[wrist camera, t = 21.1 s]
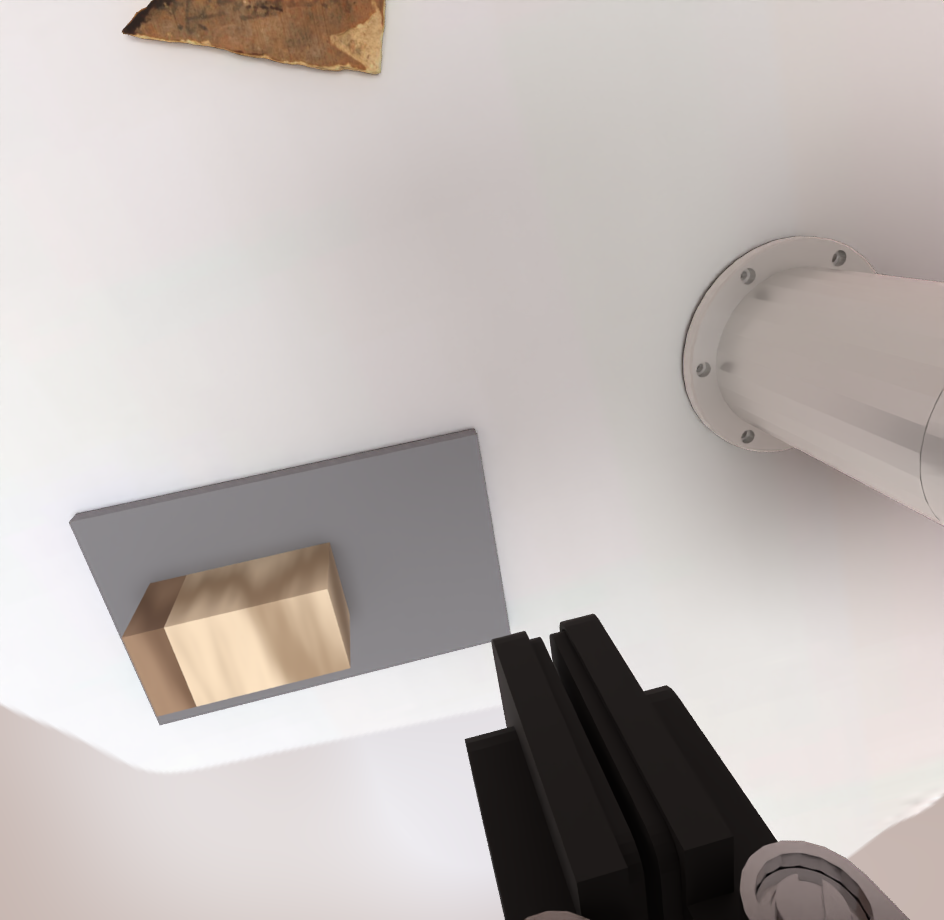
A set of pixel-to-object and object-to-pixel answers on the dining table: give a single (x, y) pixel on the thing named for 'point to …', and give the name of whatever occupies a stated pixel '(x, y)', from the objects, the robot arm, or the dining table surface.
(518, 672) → the robot arm
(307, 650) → the maple block
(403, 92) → the dining table surface
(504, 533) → the dining table surface
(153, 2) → the shard
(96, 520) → the mat
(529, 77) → the dining table surface
